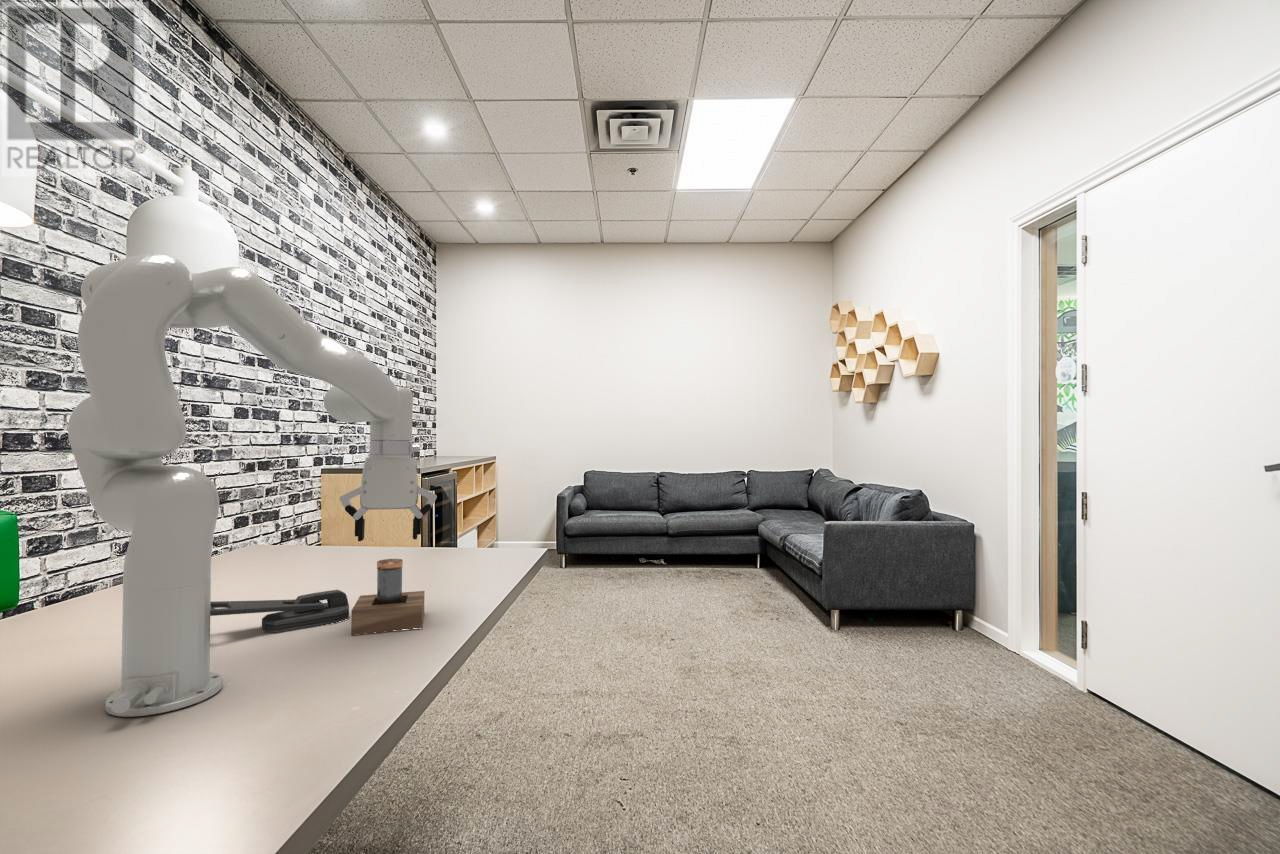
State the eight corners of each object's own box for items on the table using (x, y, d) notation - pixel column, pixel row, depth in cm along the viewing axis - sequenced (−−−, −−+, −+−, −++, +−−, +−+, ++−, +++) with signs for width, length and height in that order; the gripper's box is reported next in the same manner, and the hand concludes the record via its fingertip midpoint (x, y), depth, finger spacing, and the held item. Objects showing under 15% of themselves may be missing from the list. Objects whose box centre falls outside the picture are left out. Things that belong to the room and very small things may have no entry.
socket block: (421, 629, 112) (422, 604, 112) (351, 635, 108) (351, 610, 108) (424, 613, 122) (424, 590, 122) (359, 618, 119) (360, 595, 119)
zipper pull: (191, 601, 107) (340, 578, 125) (190, 638, 107) (339, 610, 124) (199, 611, 101) (355, 586, 118) (199, 651, 101) (355, 620, 118)
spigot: (401, 626, 114) (401, 562, 114) (375, 628, 112) (375, 564, 112) (403, 619, 118) (403, 558, 118) (377, 621, 117) (378, 559, 117)
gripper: (438, 450, 122) (436, 535, 121) (344, 450, 117) (342, 538, 116) (437, 450, 115) (435, 540, 114) (338, 449, 110) (335, 543, 109)
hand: (388, 539), depth 115 cm, fingers open, 9 cm apart
